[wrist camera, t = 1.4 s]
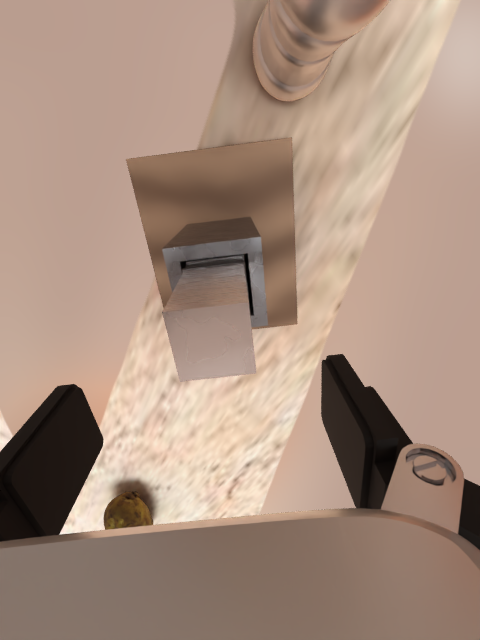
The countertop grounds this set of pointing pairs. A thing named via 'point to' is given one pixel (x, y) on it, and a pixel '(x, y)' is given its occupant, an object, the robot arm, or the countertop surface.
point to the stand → (224, 218)
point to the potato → (127, 512)
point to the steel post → (211, 320)
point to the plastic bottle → (305, 41)
